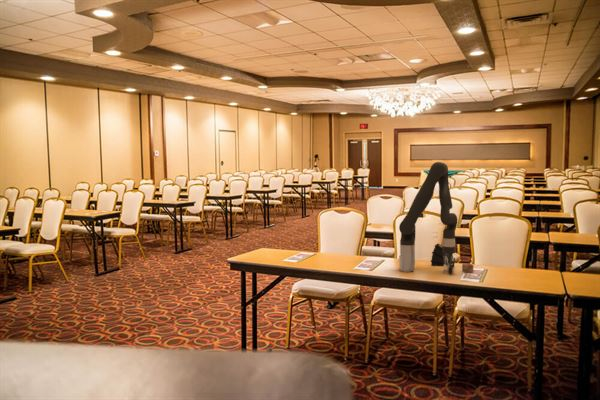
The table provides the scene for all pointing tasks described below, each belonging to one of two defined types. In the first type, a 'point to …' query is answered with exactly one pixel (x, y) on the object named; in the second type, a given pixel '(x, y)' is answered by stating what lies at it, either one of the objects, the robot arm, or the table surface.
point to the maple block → (447, 269)
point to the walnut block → (467, 268)
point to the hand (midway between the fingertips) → (448, 272)
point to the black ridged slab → (437, 256)
